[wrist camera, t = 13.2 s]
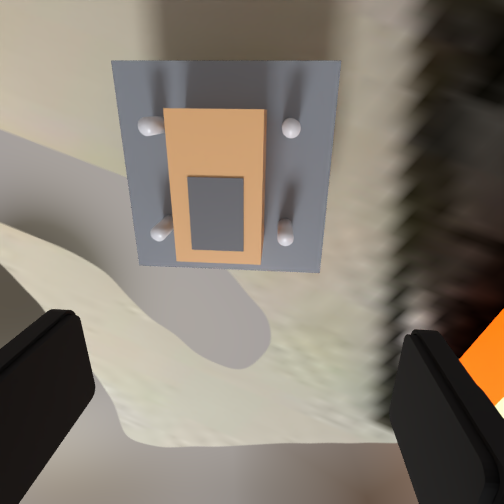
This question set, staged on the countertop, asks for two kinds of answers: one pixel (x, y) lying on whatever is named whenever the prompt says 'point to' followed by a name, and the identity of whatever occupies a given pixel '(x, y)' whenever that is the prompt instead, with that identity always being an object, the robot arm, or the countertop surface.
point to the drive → (217, 183)
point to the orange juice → (488, 362)
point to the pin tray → (277, 149)
